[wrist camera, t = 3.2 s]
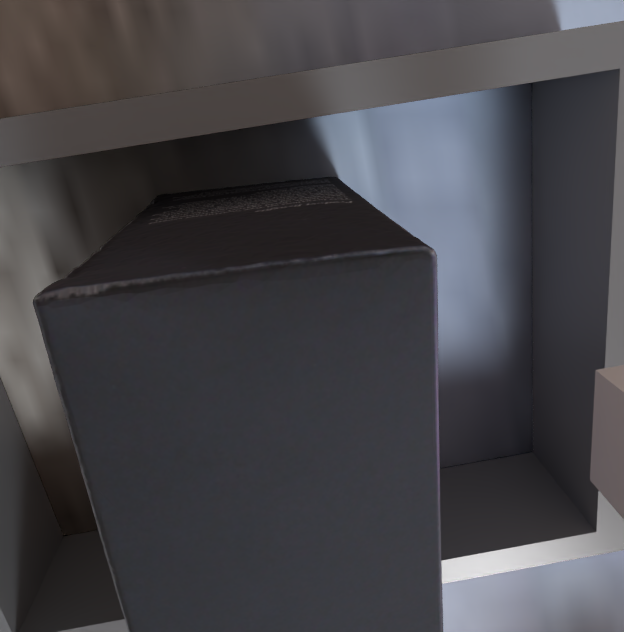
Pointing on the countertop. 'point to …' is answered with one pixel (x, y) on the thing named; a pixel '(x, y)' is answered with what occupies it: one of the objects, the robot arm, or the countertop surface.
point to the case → (547, 304)
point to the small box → (258, 411)
